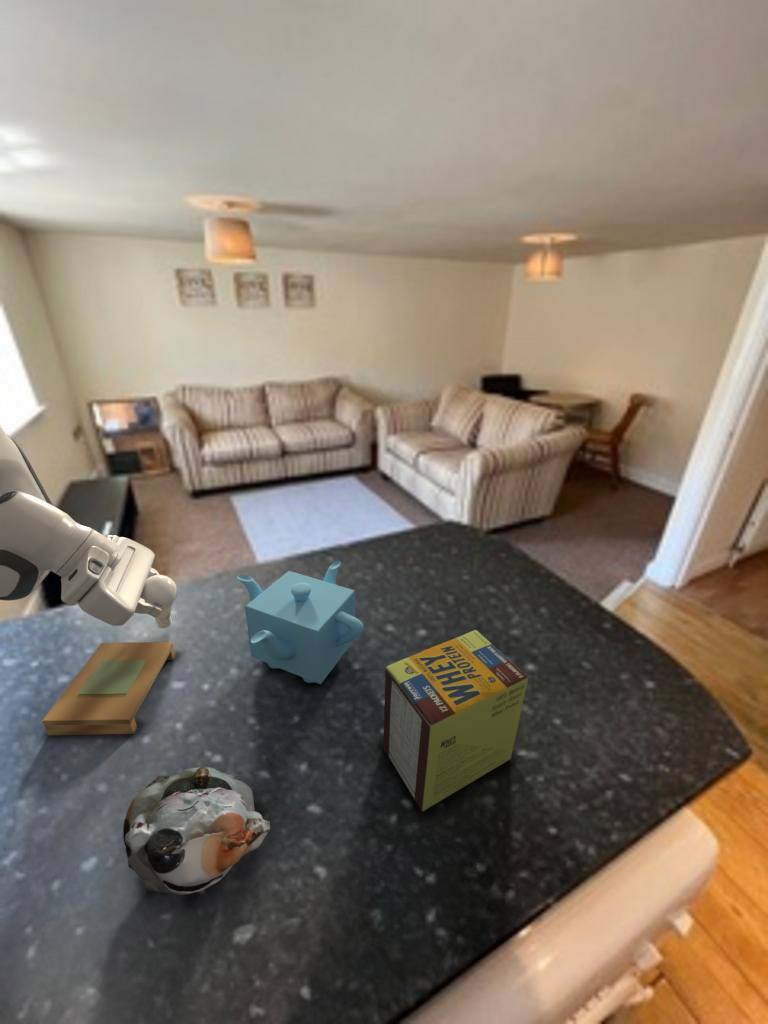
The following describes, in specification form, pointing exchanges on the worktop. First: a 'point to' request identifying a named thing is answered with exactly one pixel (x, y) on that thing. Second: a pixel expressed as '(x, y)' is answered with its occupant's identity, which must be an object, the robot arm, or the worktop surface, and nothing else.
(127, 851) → the lucky cat figurine
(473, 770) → the protein box
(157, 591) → the lightbulb
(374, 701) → the worktop surface
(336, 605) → the teakettle
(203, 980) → the worktop surface
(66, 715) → the shelf
